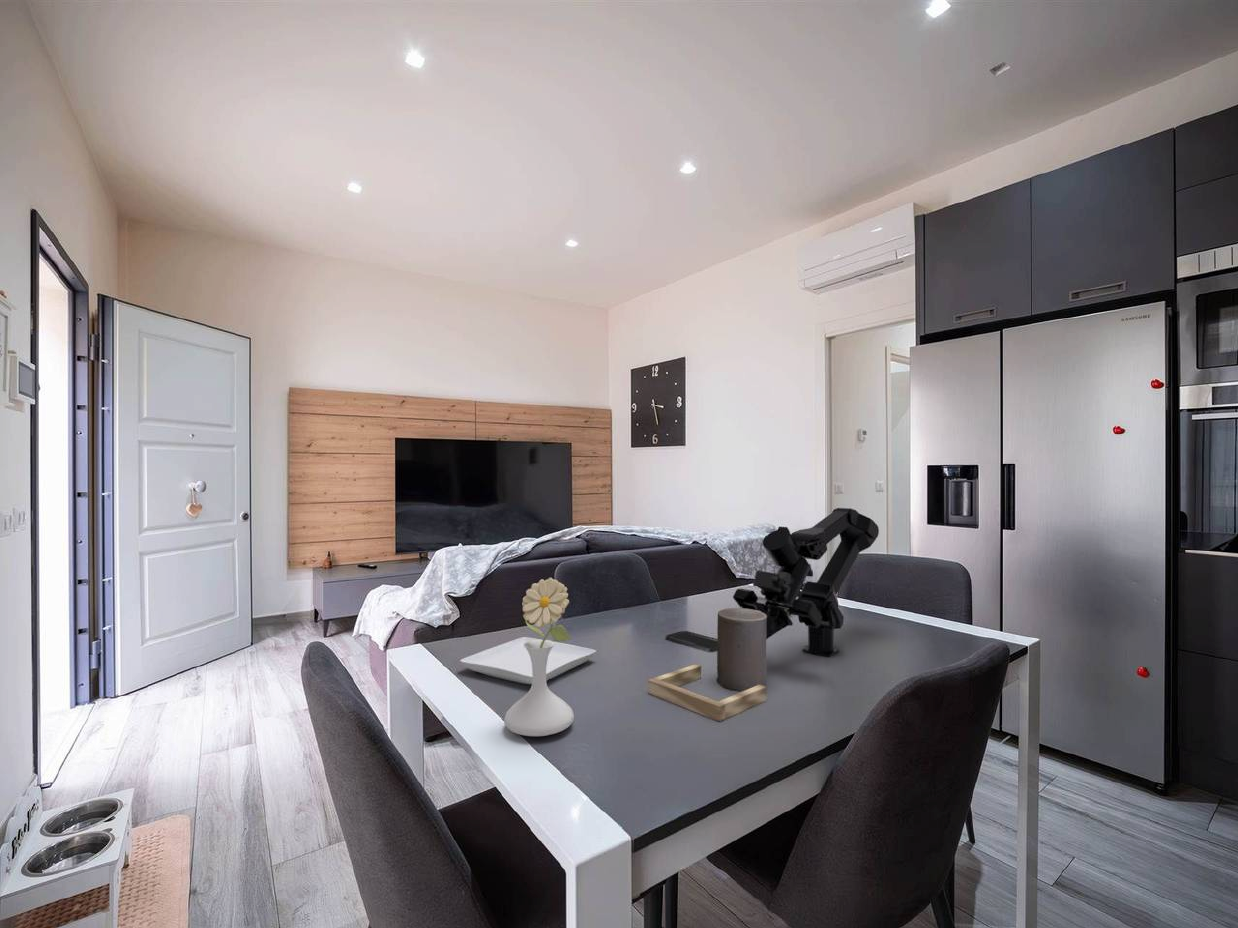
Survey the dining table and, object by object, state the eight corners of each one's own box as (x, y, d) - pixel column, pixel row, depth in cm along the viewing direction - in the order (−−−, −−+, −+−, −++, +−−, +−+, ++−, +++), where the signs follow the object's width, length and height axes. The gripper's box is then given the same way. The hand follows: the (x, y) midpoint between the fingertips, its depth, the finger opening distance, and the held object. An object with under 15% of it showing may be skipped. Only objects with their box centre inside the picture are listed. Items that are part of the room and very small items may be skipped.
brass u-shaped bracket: (695, 676, 122) (695, 663, 122) (766, 700, 109) (766, 686, 109) (648, 692, 113) (648, 679, 113) (719, 721, 100) (719, 706, 100)
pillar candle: (706, 681, 119) (707, 606, 119) (736, 670, 125) (737, 598, 125) (747, 696, 112) (747, 616, 111) (776, 683, 118) (777, 607, 118)
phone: (684, 630, 154) (731, 642, 143) (684, 634, 154) (731, 647, 143) (663, 636, 148) (710, 649, 137) (663, 640, 148) (710, 654, 137)
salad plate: (523, 648, 142) (523, 634, 142) (598, 663, 131) (598, 648, 131) (456, 675, 124) (456, 659, 124) (537, 695, 113) (537, 677, 113)
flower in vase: (490, 727, 98) (490, 575, 98) (545, 708, 106) (545, 567, 106) (538, 755, 89) (538, 586, 89) (595, 731, 97) (594, 576, 97)
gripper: (737, 551, 133) (705, 609, 125) (814, 561, 119) (783, 627, 111) (758, 582, 138) (729, 639, 131) (834, 595, 124) (806, 660, 117)
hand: (759, 640), depth 122 cm, fingers closed
